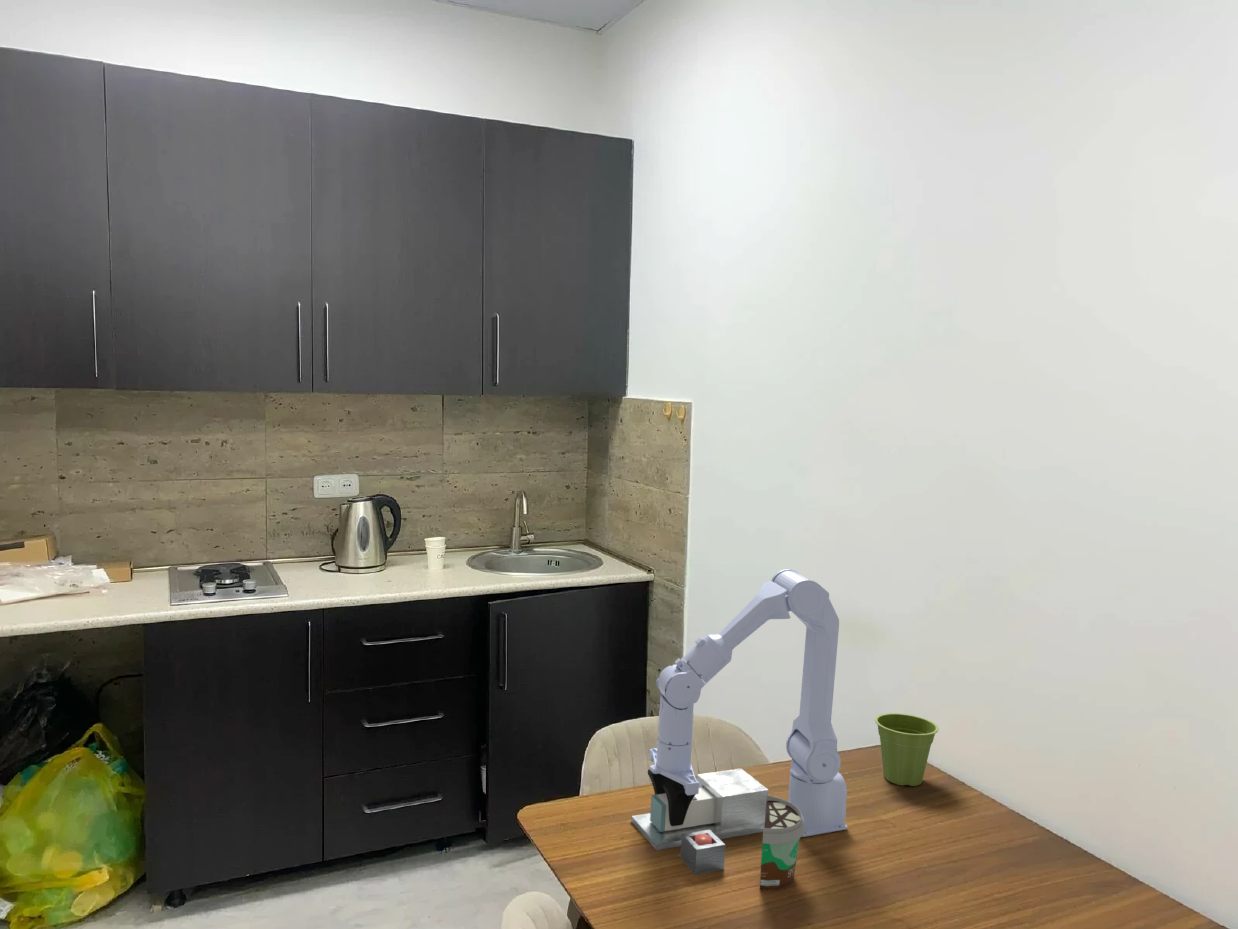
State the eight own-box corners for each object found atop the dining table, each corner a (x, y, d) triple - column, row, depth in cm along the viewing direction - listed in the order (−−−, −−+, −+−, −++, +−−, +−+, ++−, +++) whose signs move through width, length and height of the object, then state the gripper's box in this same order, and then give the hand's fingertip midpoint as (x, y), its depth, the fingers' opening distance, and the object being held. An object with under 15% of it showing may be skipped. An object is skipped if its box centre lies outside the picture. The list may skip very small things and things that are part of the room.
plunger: (705, 857, 142) (706, 832, 142) (713, 865, 140) (714, 840, 139) (690, 859, 141) (692, 835, 141) (698, 868, 139) (700, 843, 138)
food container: (801, 902, 131) (806, 836, 130) (759, 895, 132) (763, 829, 132) (801, 859, 143) (805, 799, 142) (762, 853, 145) (766, 793, 144)
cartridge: (721, 809, 156) (723, 783, 156) (733, 819, 153) (735, 793, 152) (650, 820, 151) (651, 794, 151) (660, 831, 147) (661, 804, 147)
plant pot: (936, 774, 179) (941, 719, 178) (931, 798, 168) (935, 739, 167) (875, 762, 184) (879, 708, 183) (866, 784, 173) (870, 726, 172)
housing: (738, 804, 161) (740, 767, 161) (768, 831, 152) (771, 791, 152) (631, 821, 153) (633, 782, 152) (656, 850, 144) (658, 808, 143)
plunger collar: (708, 853, 144) (709, 829, 143) (723, 869, 139) (725, 844, 139) (680, 858, 142) (681, 834, 141) (695, 875, 137) (696, 849, 137)
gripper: (635, 726, 154) (630, 802, 155) (672, 759, 141) (667, 842, 142) (671, 721, 157) (667, 797, 158) (712, 754, 144) (707, 836, 145)
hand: (670, 818), depth 150 cm, fingers closed on cartridge, 4 cm apart
